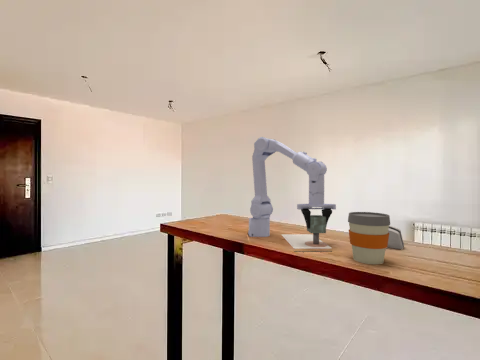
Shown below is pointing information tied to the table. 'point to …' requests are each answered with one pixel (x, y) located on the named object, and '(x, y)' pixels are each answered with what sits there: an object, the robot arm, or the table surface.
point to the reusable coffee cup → (368, 236)
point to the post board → (306, 242)
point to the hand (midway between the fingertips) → (316, 228)
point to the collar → (317, 224)
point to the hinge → (395, 238)
